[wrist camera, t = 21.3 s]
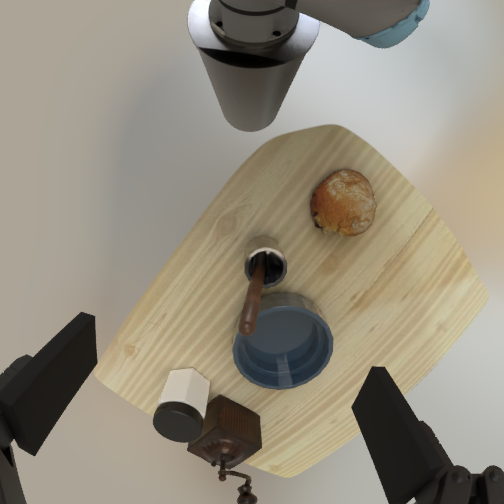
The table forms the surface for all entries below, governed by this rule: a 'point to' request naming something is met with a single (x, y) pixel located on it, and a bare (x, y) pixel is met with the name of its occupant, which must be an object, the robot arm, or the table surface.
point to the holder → (275, 260)
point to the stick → (253, 297)
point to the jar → (182, 406)
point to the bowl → (284, 343)
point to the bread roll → (343, 204)
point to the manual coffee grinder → (229, 440)
